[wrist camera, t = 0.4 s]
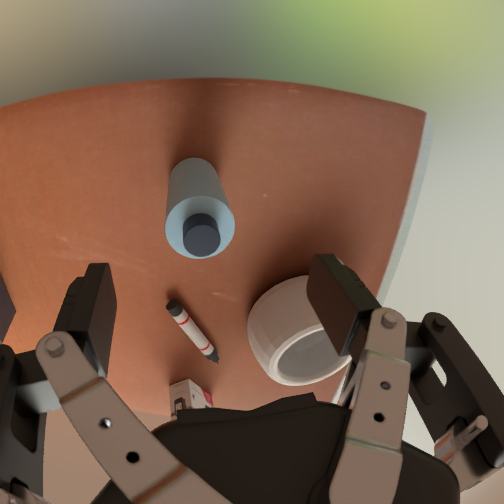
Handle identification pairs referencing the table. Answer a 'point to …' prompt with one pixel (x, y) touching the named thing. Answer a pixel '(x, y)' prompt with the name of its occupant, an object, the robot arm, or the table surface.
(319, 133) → the table surface
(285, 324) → the mug
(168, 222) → the water bottle
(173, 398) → the ink box
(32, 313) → the table surface
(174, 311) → the marker
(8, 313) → the lidded gift box
